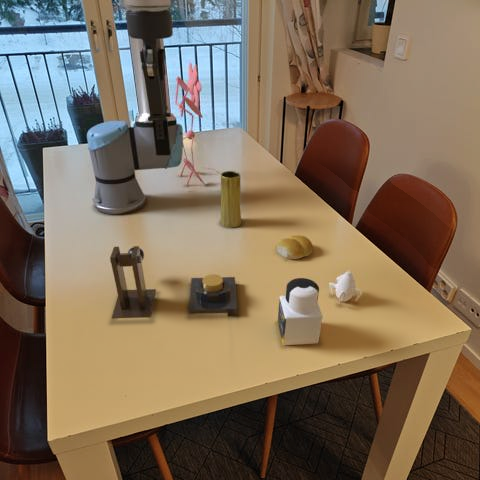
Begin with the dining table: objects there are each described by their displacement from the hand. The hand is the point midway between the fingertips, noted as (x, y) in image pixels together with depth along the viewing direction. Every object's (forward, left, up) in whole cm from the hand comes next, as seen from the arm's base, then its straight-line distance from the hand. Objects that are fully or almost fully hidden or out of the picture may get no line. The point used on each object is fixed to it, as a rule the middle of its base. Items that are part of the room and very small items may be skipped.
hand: (163, 153), depth 86 cm
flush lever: (+9, -8, -20) cm, 24 cm away
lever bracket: (+13, -8, -28) cm, 32 cm away
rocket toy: (+12, +38, -29) cm, 49 cm away
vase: (-26, +14, -29) cm, 41 cm away
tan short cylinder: (+11, +9, -25) cm, 29 cm away
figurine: (-60, +5, -29) cm, 67 cm away
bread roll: (-9, +30, -29) cm, 42 cm away
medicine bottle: (+23, +26, -29) cm, 45 cm away
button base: (+11, +9, -28) cm, 32 cm away
